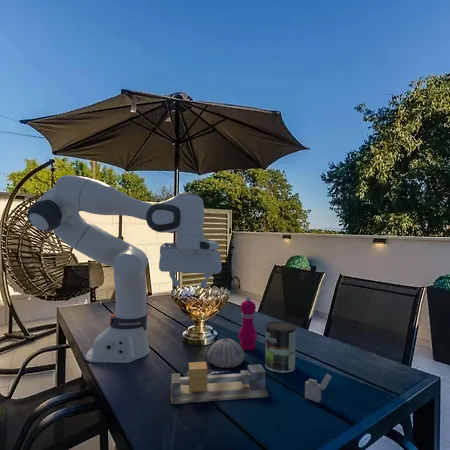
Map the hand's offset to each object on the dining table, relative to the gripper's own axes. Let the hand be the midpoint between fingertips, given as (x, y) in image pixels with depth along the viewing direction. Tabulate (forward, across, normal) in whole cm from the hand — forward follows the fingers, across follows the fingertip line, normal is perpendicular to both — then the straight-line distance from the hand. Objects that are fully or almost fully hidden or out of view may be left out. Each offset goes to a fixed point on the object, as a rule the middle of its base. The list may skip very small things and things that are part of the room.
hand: (189, 286), depth 105 cm
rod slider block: (+28, +12, -6) cm, 31 cm away
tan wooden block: (+27, +6, -9) cm, 29 cm away
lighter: (+29, +39, -4) cm, 49 cm away
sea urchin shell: (+29, +8, +14) cm, 33 cm away
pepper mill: (+29, +13, +30) cm, 44 cm away
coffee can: (+29, +27, +16) cm, 43 cm away
